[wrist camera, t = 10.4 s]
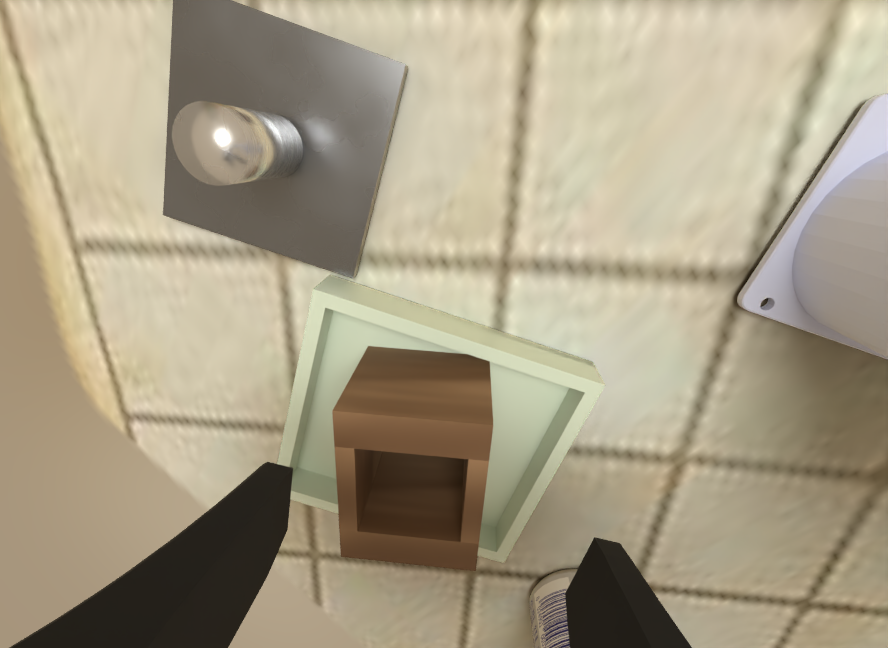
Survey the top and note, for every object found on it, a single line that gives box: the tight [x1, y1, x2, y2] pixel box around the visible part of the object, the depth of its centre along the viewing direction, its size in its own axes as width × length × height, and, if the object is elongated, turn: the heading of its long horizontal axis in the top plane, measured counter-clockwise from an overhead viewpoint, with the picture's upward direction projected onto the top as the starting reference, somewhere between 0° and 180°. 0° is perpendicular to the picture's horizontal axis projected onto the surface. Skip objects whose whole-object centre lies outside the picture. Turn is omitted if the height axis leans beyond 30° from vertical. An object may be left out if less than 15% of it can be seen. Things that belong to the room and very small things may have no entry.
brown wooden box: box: [332, 346, 493, 571], centre depth 17 cm, size 7×5×5 cm
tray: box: [277, 275, 605, 563], centre depth 19 cm, size 12×11×2 cm
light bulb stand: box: [163, 0, 408, 278], centre depth 14 cm, size 8×8×5 cm
